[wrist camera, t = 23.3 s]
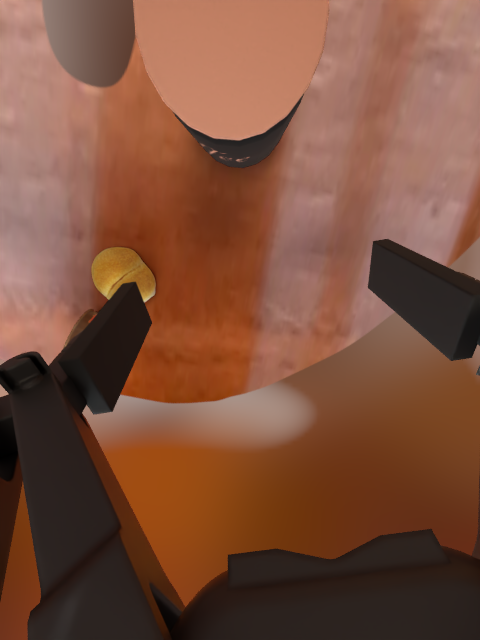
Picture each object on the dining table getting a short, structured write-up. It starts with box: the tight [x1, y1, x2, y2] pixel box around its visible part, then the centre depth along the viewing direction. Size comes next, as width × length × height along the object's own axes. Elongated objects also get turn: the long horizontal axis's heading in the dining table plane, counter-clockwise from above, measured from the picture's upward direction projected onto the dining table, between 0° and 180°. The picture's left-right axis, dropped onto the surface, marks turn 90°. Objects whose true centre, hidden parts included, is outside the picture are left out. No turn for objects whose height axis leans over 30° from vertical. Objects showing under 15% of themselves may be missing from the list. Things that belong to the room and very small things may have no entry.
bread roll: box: [91, 247, 156, 302], centre depth 37 cm, size 8×9×4 cm
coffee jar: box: [133, 0, 329, 168], centre depth 22 cm, size 11×11×18 cm
